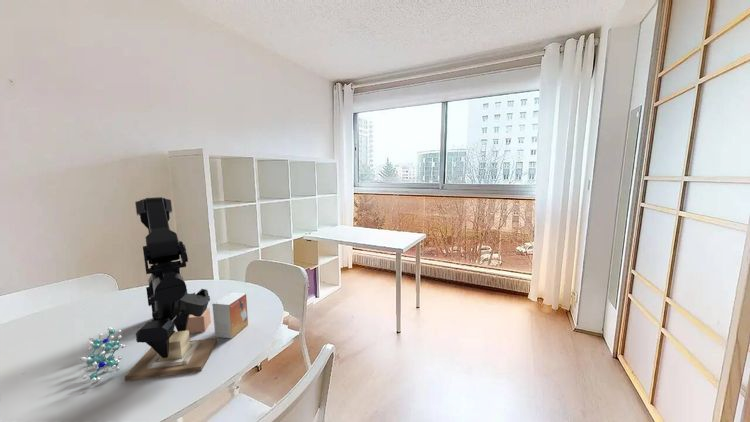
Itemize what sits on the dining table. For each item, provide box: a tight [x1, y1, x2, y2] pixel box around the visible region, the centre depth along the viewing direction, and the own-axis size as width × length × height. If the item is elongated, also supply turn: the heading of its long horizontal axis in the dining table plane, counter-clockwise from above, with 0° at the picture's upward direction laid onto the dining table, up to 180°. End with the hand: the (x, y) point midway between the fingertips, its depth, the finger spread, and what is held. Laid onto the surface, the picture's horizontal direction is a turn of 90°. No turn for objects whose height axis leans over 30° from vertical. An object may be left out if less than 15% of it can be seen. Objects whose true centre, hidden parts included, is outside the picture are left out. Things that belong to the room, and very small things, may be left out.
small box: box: [212, 292, 249, 339], centre depth 85 cm, size 8×6×10 cm
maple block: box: [159, 330, 191, 362], centre depth 72 cm, size 5×5×5 cm
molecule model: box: [80, 327, 126, 383], centre depth 70 cm, size 8×18×7 cm, turn 40°
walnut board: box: [124, 337, 219, 382], centre depth 73 cm, size 16×12×2 cm
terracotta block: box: [186, 307, 212, 334], centre depth 87 cm, size 5×5×5 cm
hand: (174, 345), depth 72 cm, fingers open, 9 cm apart
